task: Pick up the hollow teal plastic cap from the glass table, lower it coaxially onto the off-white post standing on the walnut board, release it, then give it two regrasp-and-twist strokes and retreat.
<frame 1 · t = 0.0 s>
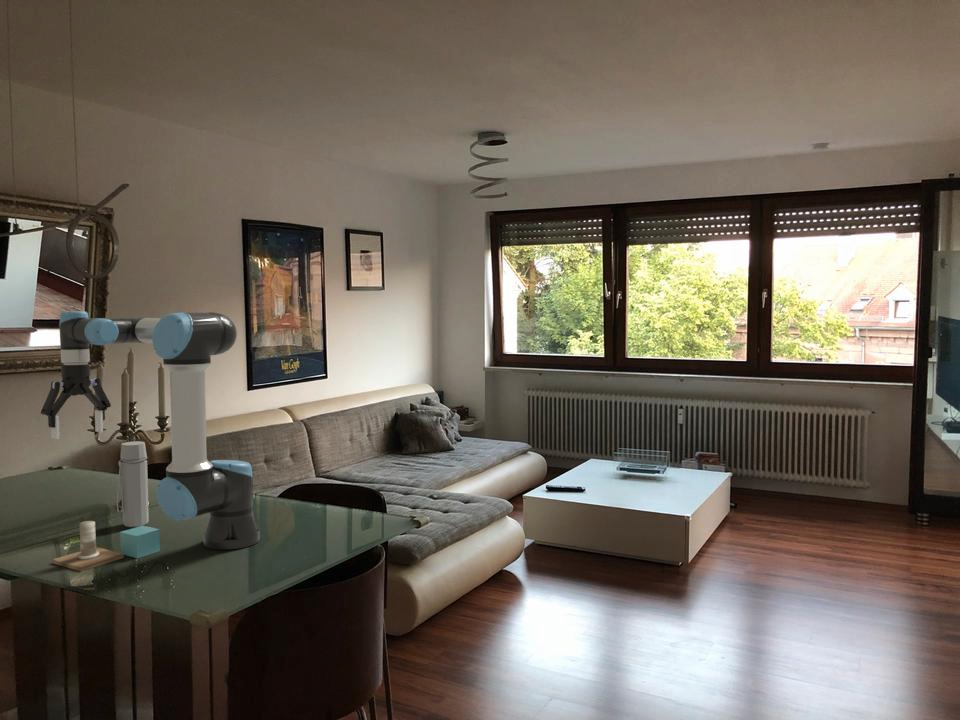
hand: (77, 435, 226), 28 cm above the table, fingers open, 13 cm apart
water bottle: (132, 526, 230), on the table
neck stand: (88, 560, 199), on the table
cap: (140, 552, 206), on the table
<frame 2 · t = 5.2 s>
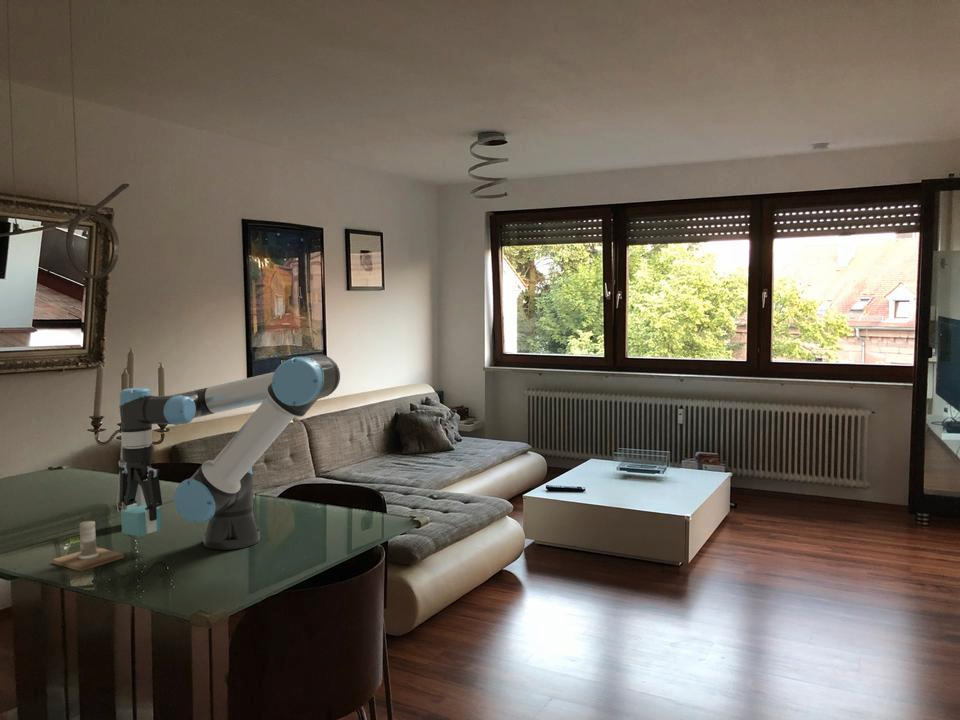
hand: (142, 530, 205), 6 cm above the table, fingers closed on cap, 7 cm apart
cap: (142, 531, 205), point 6 cm above the table, touching gripper
everything else where it was.
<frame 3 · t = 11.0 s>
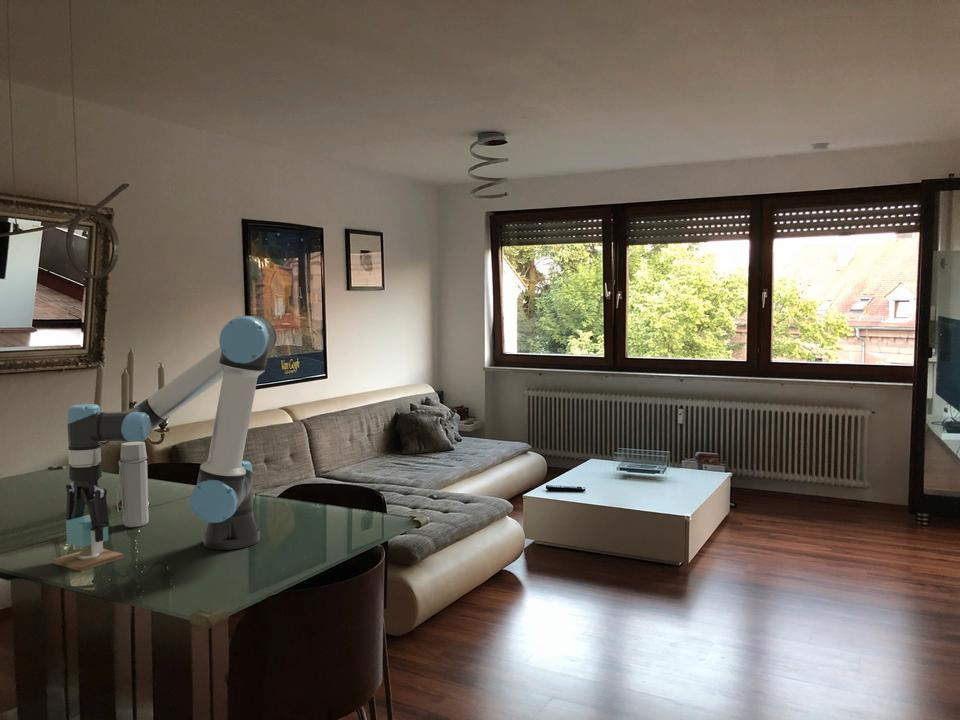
hand: (88, 550, 199), 3 cm above the table, fingers closed on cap, 7 cm apart
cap: (87, 541, 199), point 5 cm above the table, touching gripper, neck stand
everything else where it was.
when the fingers open (4 cm above the table, at t = 15.0 s): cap stays where it is, resting on neck stand.
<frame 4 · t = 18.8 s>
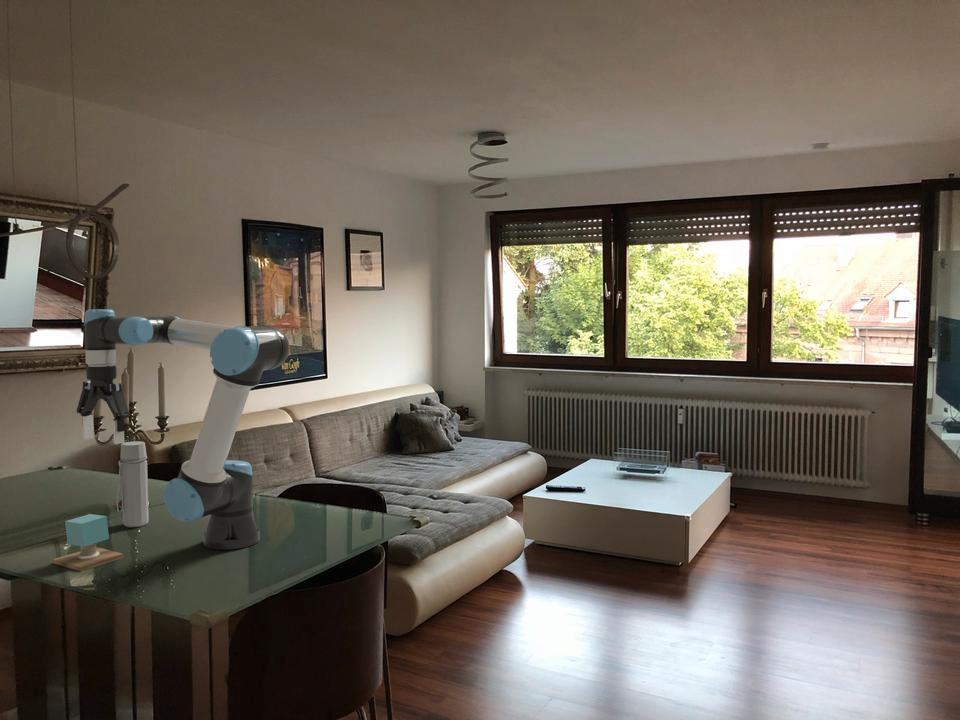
hand: (103, 441, 212), 29 cm above the table, fingers open, 13 cm apart
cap: (88, 541, 199), point 5 cm above the table, touching neck stand
everything else where it was.
at the end: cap 0.2 cm off-centre on the neck stand, point 5.1 cm above the neck stand's base; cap tilted 3°; the gripper is holding nothing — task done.
